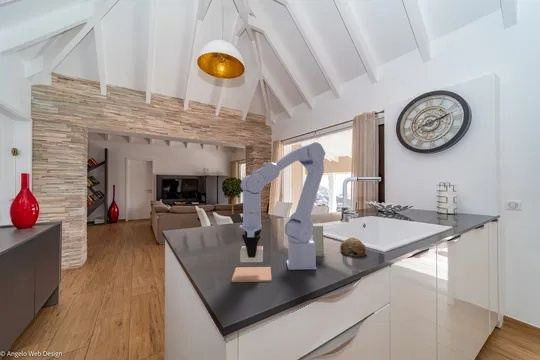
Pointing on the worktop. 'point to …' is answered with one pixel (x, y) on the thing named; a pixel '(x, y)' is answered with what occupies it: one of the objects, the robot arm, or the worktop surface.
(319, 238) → the skincare box
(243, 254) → the card box
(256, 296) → the worktop surface
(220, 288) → the worktop surface
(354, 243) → the brown rounded lump
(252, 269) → the mat
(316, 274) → the worktop surface
